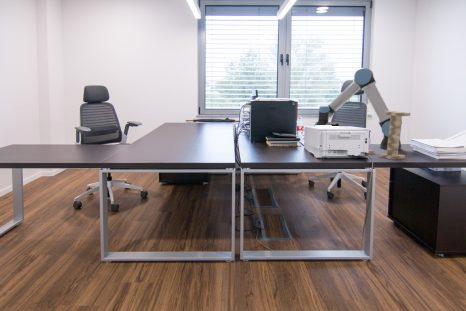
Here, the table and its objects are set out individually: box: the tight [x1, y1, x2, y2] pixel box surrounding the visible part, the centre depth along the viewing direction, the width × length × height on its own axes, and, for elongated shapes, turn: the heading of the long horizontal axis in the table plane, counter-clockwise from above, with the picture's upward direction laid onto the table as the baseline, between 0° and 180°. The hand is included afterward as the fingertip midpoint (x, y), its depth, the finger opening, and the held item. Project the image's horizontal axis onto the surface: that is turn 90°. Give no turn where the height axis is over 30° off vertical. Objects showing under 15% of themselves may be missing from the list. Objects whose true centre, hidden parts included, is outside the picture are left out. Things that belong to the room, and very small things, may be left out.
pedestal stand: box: [378, 110, 411, 161], centre depth 275 cm, size 12×12×30 cm
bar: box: [368, 148, 375, 155], centre depth 299 cm, size 24×4×3 cm, turn 27°
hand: (356, 131), depth 299 cm, fingers open, 13 cm apart
